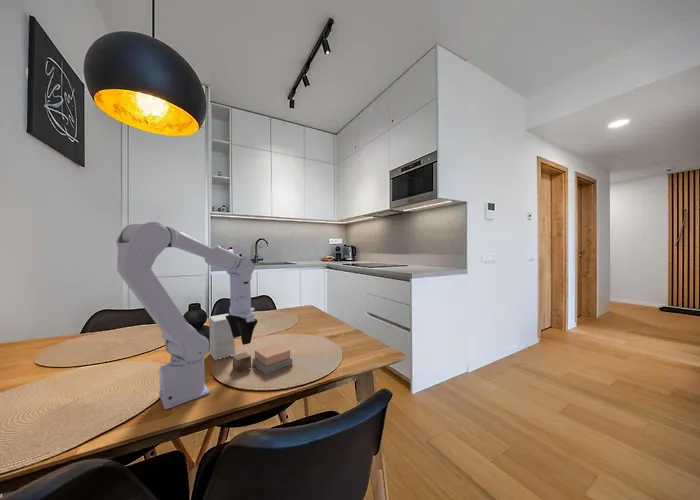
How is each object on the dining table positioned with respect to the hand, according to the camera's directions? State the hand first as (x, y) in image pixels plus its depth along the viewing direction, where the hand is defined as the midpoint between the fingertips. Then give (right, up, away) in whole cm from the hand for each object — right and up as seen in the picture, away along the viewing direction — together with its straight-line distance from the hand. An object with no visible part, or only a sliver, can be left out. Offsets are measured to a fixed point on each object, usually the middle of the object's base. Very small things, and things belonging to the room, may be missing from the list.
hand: (241, 340), depth 79 cm
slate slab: (+9, -9, +3) cm, 13 cm away
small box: (-11, -9, +10) cm, 17 cm away
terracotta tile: (+9, -7, +3) cm, 11 cm away
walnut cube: (0, -9, 0) cm, 9 cm away
